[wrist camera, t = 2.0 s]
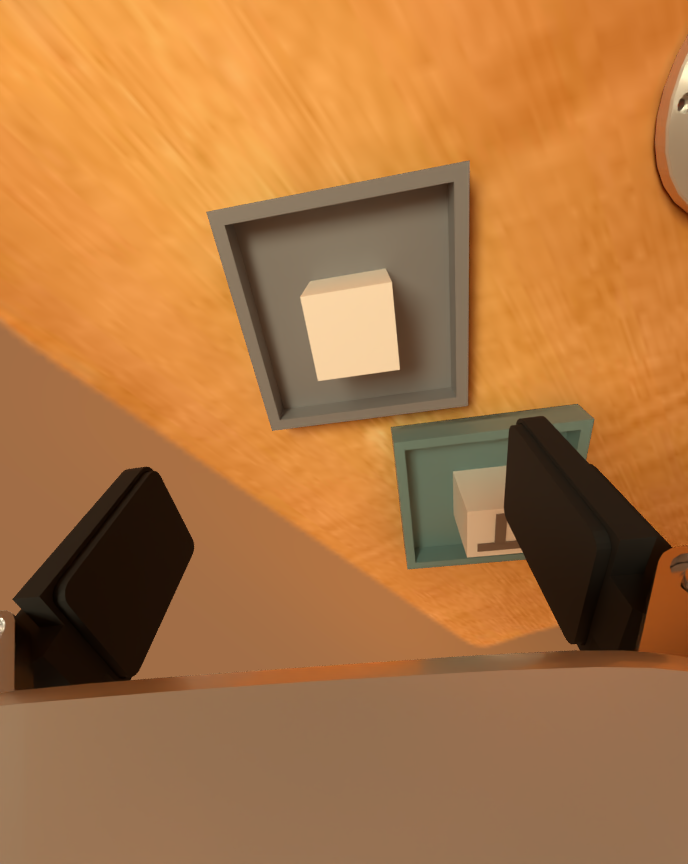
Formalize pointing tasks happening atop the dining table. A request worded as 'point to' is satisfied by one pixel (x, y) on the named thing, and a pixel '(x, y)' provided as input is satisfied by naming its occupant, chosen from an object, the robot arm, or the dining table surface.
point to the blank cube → (351, 324)
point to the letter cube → (482, 512)
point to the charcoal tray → (343, 255)
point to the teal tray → (455, 451)
